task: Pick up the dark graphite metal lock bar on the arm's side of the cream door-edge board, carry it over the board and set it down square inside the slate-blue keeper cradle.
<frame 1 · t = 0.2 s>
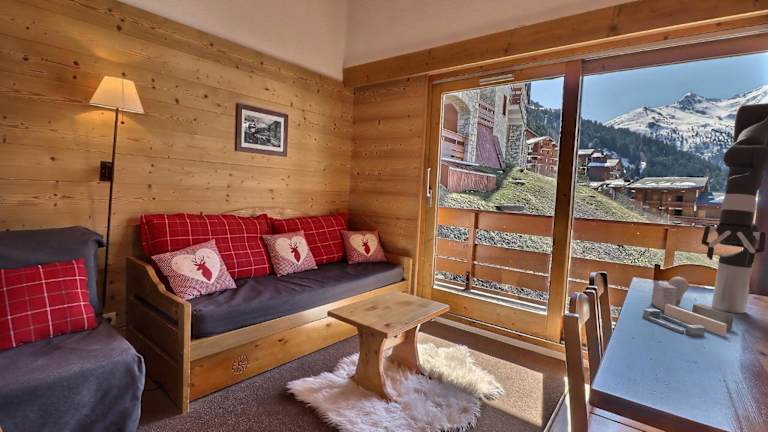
hand: (728, 262, 117), 22 cm above the table, tool pointing down, fingers open, 8 cm apart
medicine box: (662, 308, 140), on the table
lightbulb: (675, 305, 145), on the table
door edge: (692, 324, 124), on the table
keeper cradle: (671, 325, 122), on the table
lock bar: (710, 323, 127), on the table
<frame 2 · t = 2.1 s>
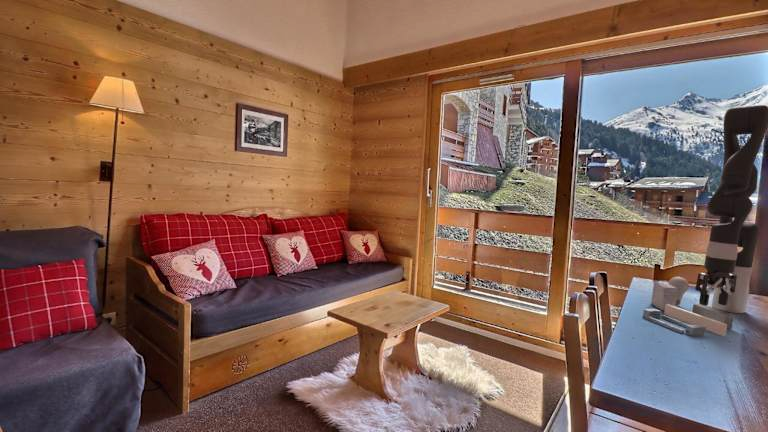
hand: (712, 304, 126), 6 cm above the table, tool pointing down, fingers open, 8 cm apart
nothing on the table moved.
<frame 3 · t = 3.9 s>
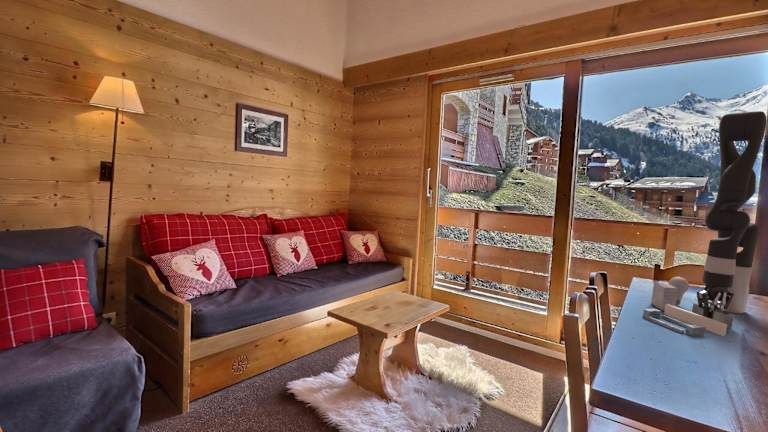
hand: (710, 321, 127), 1 cm above the table, tool pointing down, fingers closed on lock bar, 3 cm apart
lock bar: (710, 323, 127), on the table, touching gripper
everything else where it was.
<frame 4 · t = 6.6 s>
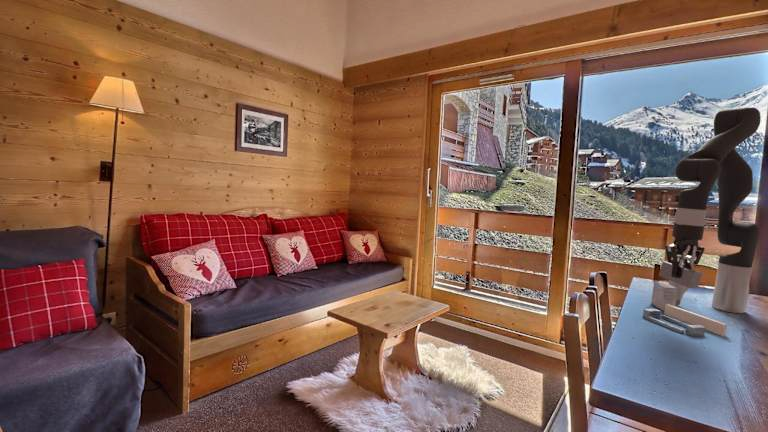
hand: (680, 277, 120), 16 cm above the table, tool pointing down, fingers closed on lock bar, 3 cm apart
lock bar: (677, 281, 121), point 14 cm above the table, tilted 7°, touching gripper
everything else where it was.
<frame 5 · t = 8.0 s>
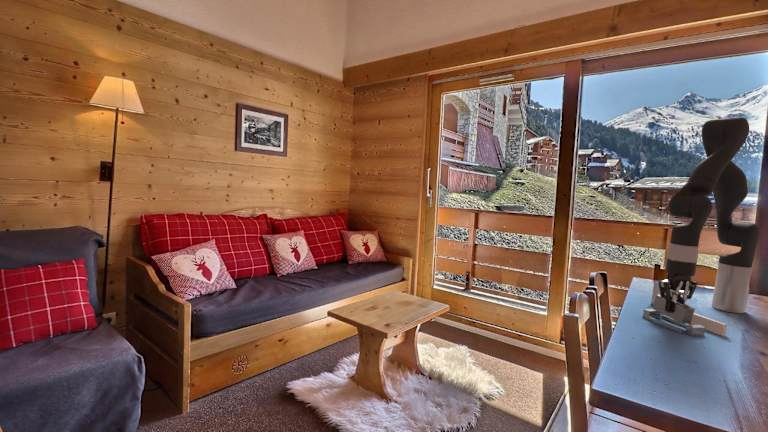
hand: (673, 311, 122), 4 cm above the table, tool pointing down, fingers closed on lock bar, 3 cm apart
lock bar: (670, 315, 122), point 3 cm above the table, tilted 7°, touching gripper
everything else where it was.
when the fingers open (1 cm above the table, at t = 9.3 s): lock bar drops 1 cm, resting in keeper cradle.
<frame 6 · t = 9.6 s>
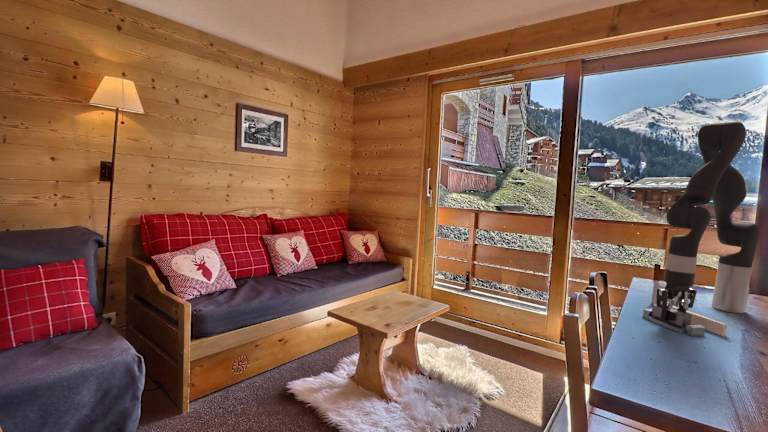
hand: (672, 320, 122), 2 cm above the table, tool pointing down, fingers open, 6 cm apart
lock bar: (669, 324, 123), resting in keeper cradle
everything else where it was.
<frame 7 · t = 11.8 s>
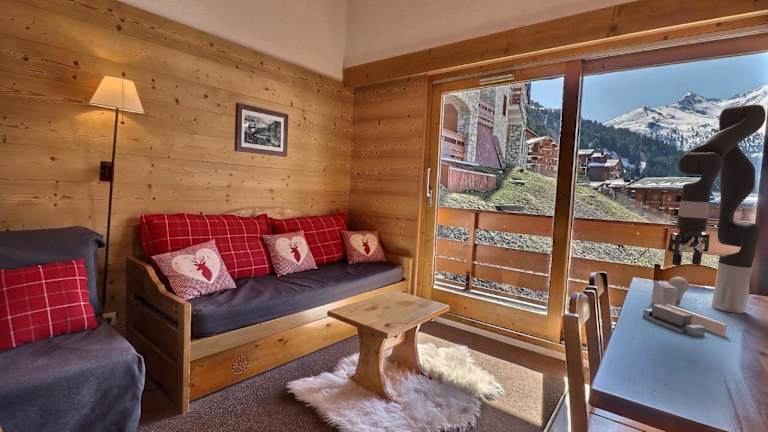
hand: (686, 265, 124), 19 cm above the table, tool pointing down, fingers open, 8 cm apart
nothing on the table moved.
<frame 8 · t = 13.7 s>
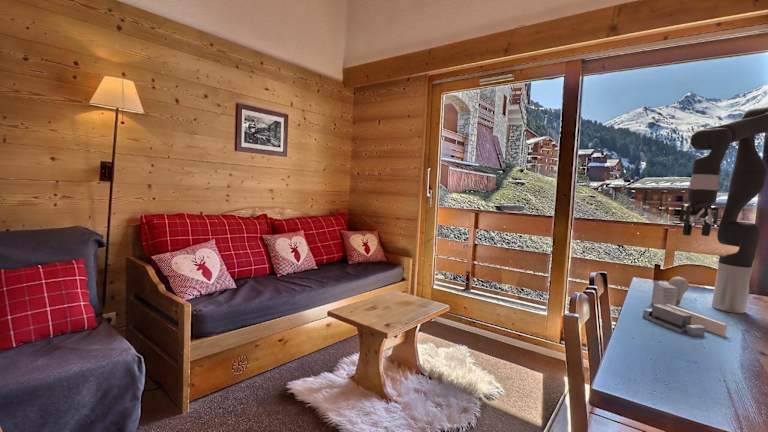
hand: (696, 235, 131), 28 cm above the table, tool pointing down, fingers open, 8 cm apart
nothing on the table moved.
at the end: lock bar 0.8 cm off-centre on the keeper cradle, point 0.0 cm above the keeper cradle's base; lock bar tilted 0°; the gripper is holding nothing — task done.
